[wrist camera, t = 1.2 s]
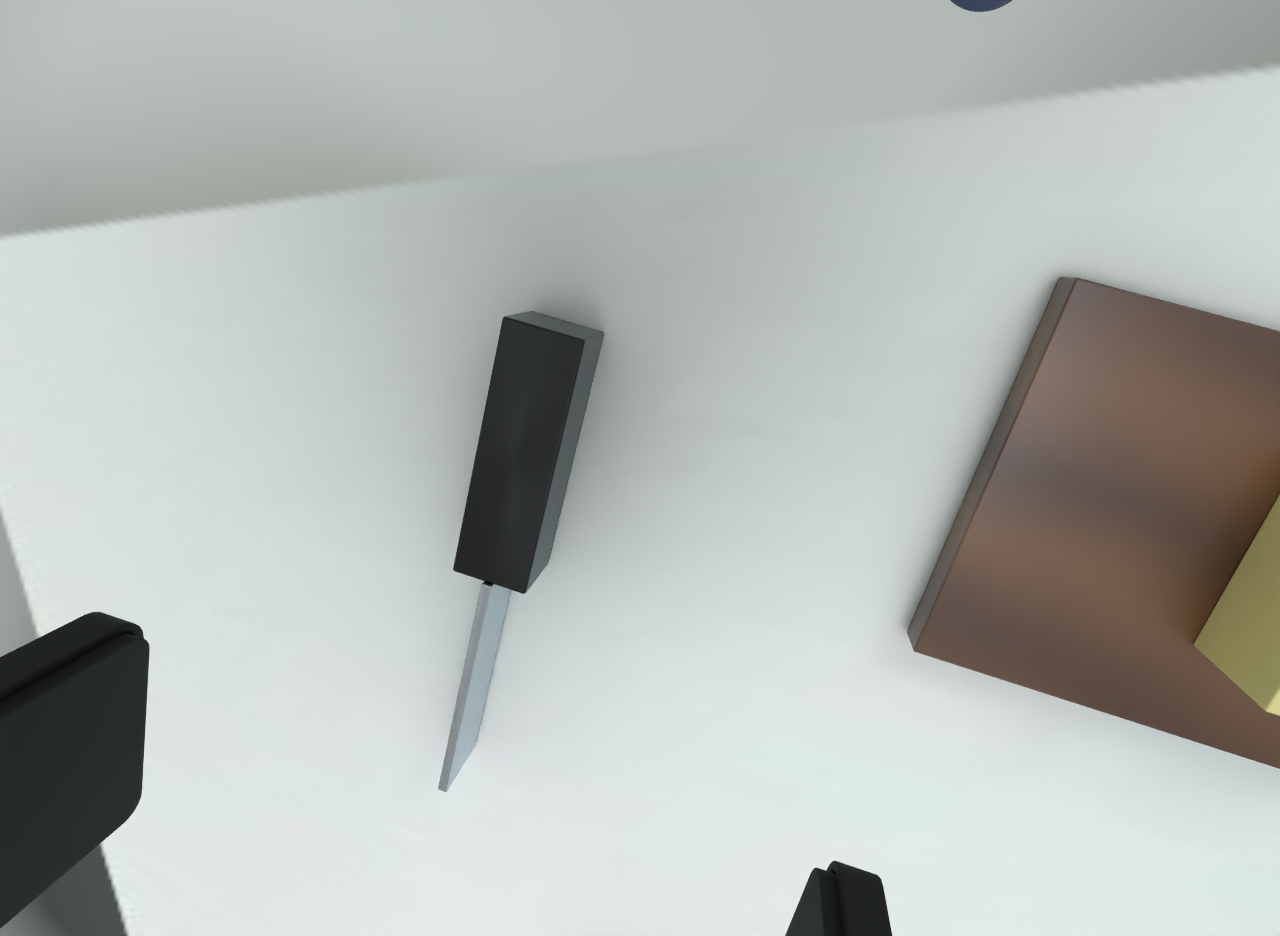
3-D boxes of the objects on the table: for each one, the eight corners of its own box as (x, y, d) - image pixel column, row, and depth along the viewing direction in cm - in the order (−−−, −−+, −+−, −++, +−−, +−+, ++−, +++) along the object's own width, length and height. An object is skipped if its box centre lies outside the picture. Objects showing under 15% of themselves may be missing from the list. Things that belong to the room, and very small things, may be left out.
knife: (530, 310, 28) (500, 316, 25) (604, 332, 28) (583, 340, 24) (441, 733, 34) (409, 779, 31) (502, 754, 34) (474, 803, 31)
